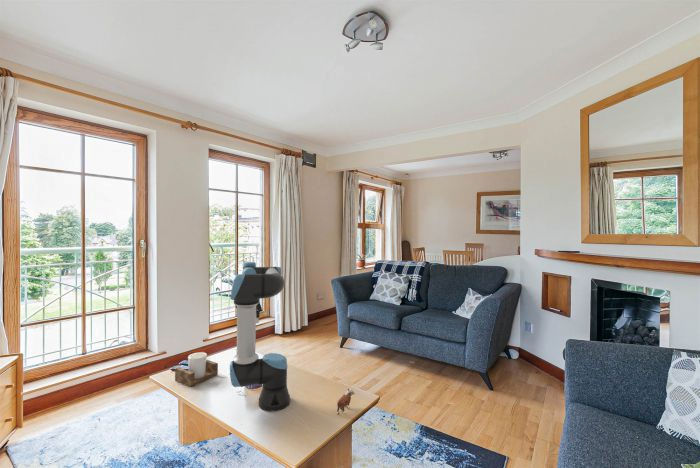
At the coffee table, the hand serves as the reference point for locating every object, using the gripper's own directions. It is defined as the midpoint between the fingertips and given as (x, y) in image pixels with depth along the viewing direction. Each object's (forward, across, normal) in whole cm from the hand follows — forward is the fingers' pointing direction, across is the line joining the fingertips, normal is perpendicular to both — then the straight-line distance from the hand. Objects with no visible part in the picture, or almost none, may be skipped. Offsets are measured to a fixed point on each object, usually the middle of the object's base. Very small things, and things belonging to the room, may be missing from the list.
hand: (248, 321), depth 197 cm
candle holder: (+28, +14, +25) cm, 40 cm away
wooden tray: (+29, +14, +25) cm, 41 cm away
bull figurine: (+29, -75, +9) cm, 81 cm away
